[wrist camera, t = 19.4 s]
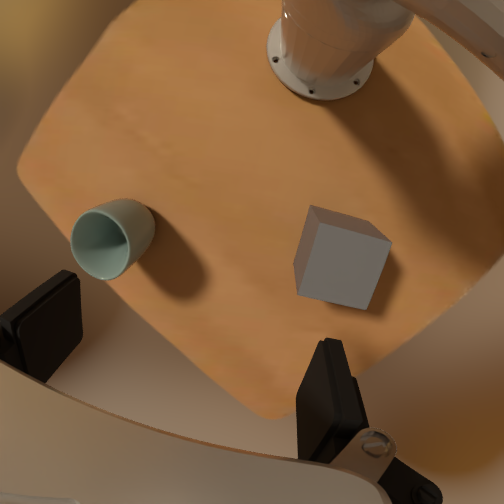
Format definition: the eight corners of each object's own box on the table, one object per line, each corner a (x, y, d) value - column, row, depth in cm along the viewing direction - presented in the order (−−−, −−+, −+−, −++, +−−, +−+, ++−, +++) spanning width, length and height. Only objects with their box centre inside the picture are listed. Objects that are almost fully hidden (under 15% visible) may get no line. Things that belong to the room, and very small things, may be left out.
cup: (144, 262, 41) (111, 294, 32) (102, 228, 40) (61, 251, 31) (173, 217, 39) (143, 240, 30) (127, 182, 38) (86, 195, 28)
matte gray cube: (310, 204, 37) (319, 222, 29) (368, 221, 37) (392, 242, 29) (293, 263, 40) (297, 295, 32) (349, 277, 40) (366, 310, 32)
